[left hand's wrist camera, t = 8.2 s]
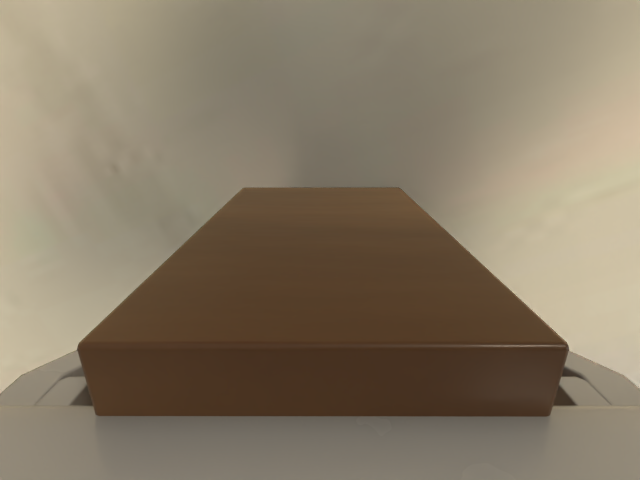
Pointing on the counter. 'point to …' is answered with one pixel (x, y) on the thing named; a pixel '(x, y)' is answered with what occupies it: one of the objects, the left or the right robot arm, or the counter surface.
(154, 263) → the counter surface
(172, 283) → the box
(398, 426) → the left robot arm
